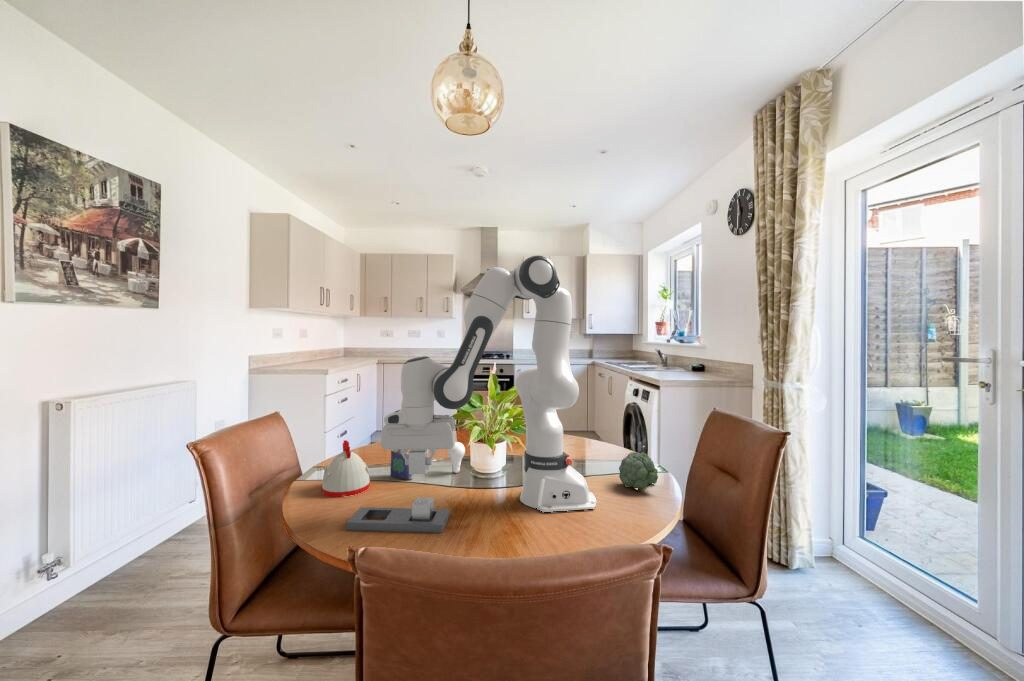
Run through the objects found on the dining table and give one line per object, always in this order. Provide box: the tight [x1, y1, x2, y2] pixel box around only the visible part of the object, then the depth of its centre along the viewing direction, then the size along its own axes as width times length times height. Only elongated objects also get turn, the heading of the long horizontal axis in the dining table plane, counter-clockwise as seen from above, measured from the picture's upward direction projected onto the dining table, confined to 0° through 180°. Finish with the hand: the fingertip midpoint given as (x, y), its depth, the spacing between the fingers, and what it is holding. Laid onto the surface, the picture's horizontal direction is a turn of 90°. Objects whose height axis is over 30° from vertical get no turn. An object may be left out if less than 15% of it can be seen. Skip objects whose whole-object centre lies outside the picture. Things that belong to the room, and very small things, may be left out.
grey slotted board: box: [345, 506, 450, 534], centre depth 103 cm, size 24×9×2 cm, turn 88°
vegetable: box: [618, 451, 659, 491], centre depth 131 cm, size 12×13×15 cm
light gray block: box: [411, 496, 435, 522], centre depth 103 cm, size 4×4×6 cm
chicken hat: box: [321, 439, 371, 498], centre depth 127 cm, size 14×14×15 cm
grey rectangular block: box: [408, 449, 430, 475], centre depth 112 cm, size 4×4×6 cm
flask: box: [389, 450, 413, 481], centre depth 137 cm, size 9×3×11 cm, turn 61°
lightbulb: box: [447, 441, 466, 474], centre depth 143 cm, size 6×6×11 cm
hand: (419, 464), depth 112 cm, fingers closed on grey rectangular block, 4 cm apart
